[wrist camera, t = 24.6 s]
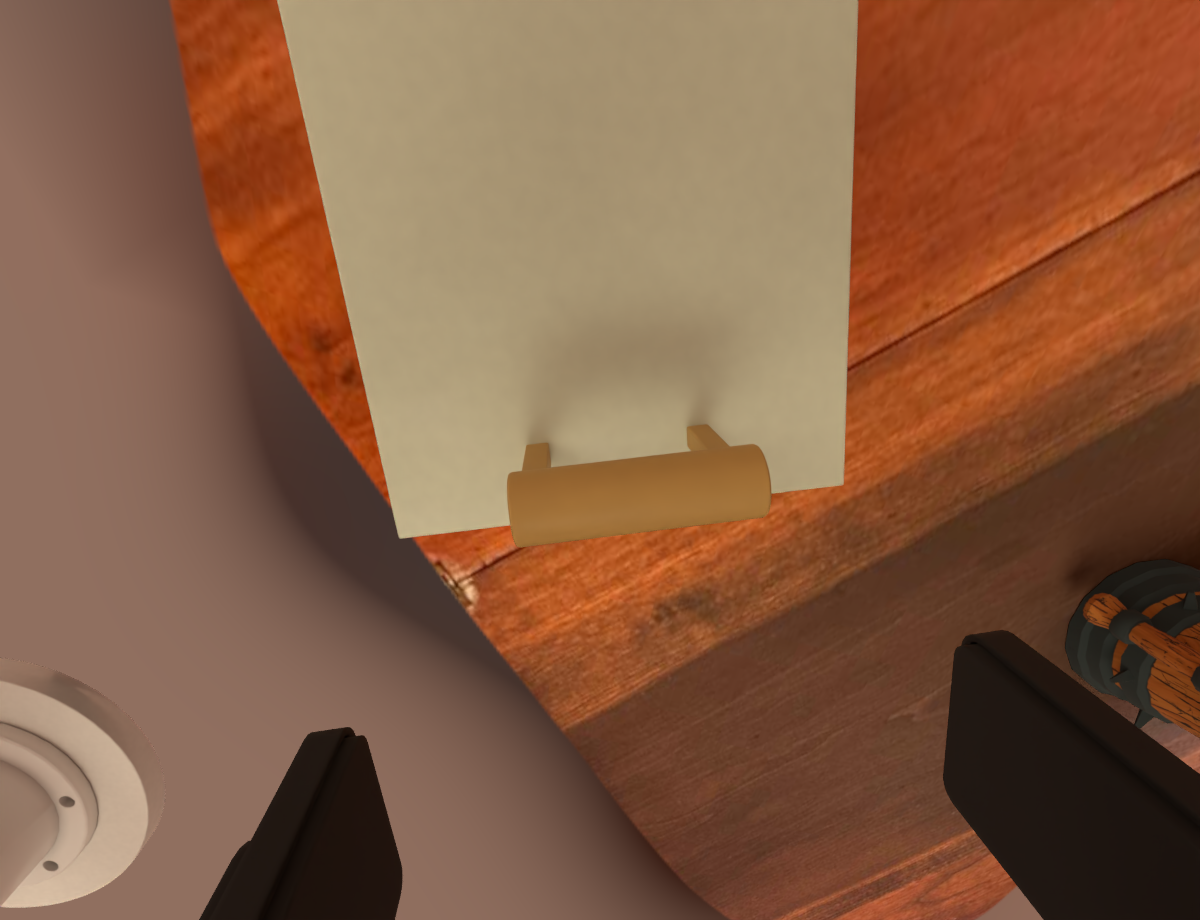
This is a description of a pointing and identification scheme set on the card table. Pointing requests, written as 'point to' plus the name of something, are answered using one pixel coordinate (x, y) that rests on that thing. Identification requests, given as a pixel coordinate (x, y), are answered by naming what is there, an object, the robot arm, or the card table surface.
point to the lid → (589, 251)
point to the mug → (1143, 641)
